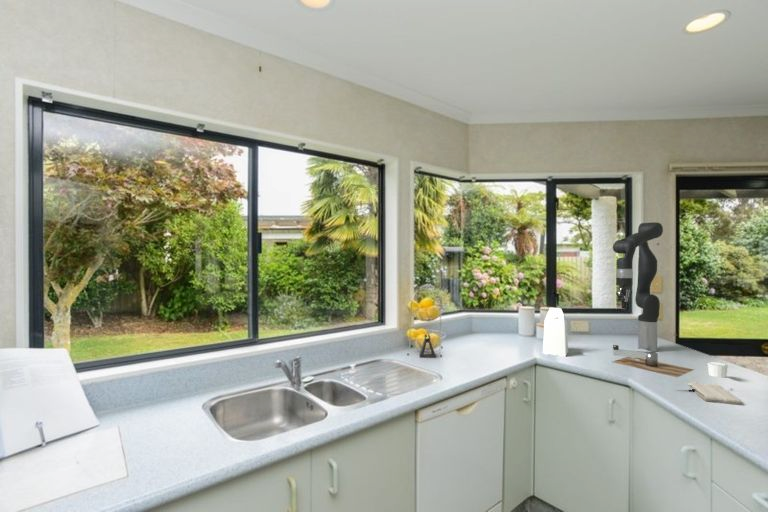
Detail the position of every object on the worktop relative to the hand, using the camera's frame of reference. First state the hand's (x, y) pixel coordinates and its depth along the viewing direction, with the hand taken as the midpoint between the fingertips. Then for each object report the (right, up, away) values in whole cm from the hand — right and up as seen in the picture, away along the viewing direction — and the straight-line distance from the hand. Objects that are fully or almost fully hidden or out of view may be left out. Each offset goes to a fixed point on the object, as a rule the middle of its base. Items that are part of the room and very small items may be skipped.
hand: (624, 308), depth 203 cm
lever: (-5, -25, -16) cm, 31 cm away
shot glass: (+20, -27, -35) cm, 48 cm away
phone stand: (-108, -28, +4) cm, 111 cm away
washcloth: (0, -28, -54) cm, 61 cm away
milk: (-33, -27, +10) cm, 44 cm away
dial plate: (+1, -27, -20) cm, 33 cm away
